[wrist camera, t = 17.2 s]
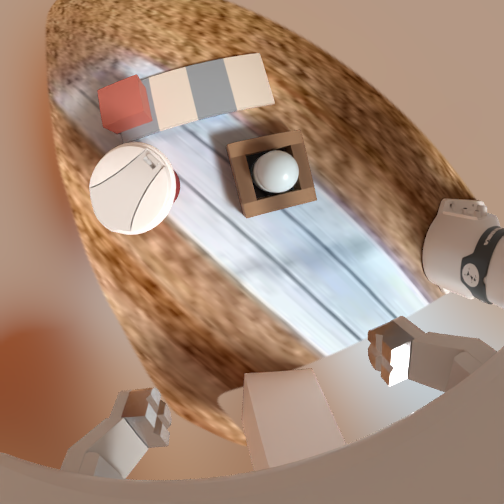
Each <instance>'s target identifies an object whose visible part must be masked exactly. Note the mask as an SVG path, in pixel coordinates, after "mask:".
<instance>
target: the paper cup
mask: <svg viewBox="0 0 504 504" xmlns="http://www.w3.org/2000/svg"><path fill="white" fill-rule="evenodd" d="M89 188H90V197H91V202H92V207H93V210H94V213H95V215H96V217H97V219H98V220H99V221H100V222H101V224H103V225H104V226H105V227H106V228H107V229H109V230H110V231H112V232H117V233H122V234H129V235H133V234H140V233H144V232H146V231H149V230H151V229H152V228H154V227H155V226H157V225H158V224H159V223H160V222H161V221H162V220H163V219H164V218H165V217H166V215H167V214H168V212H169V211H170V209H171V207H172V204H173V203H174V202H175V200H176V199H177V197H178V194H179V191H180V181H179V178H178V176H177V174H176V172H175V171H174V170H173V168H172V166H171V164H170V162H169V160H168V159H167V158H166V156H165V155H164V154H163V153H162V152H161V151H159V150H158V149H157V148H155V147H153V146H151V145H149V144H146V143H141V142H130V143H124V144H122V145H119V146H117V147H115V148H113V149H112V150H110V151H109V152H108V153H106V154H105V155H104V156H103V157H102V159H101V160H100V161H99V163H98V164H97V165H96V167H95V169H94V171H93V173H92V176H91V180H90V185H89Z"/></svg>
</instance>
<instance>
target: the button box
mask: <svg viewBox="0 0 504 504" xmlns="http://www.w3.org/2000/svg"><path fill="white" fill-rule="evenodd" d="M282 148H284V149H285V152H286V153H288V154H290V155H291V156H292V157H293V158H294V159H295V161H296V162H297V165H298V168H299V175H298V179H297V181H296V183H295V185H294V189H293V190H289V191H285V192H280V193H276V194H272V195H268V196H264V197H260V198H256V195H255V191H254V187H253V183H252V179H251V175H250V171H249V167H248V163H247V159H246V156H250V155H254V154H258V153H263V152H268V151H272V150H277V149H282ZM226 150H227V153H228V157H229V161H230V165H231V169H232V173H233V177H234V180H235V184H236V188H237V192H238V196H239V200H240V204H241V208H242V211H243V215H244V216H245V217H246V218H250V217H253V216H257V215H261V214H265V213H268V212H272V211H276V210H280V209H284V208H288V207H292V206H296V205H299V204H303V203H307V202H312V201H316V200H317V198H316V193H315V188H314V184H313V179H312V175H311V170H310V166H309V162H308V158H307V154H306V150H305V146H304V142H303V138H302V134H301V130H294V131H288V132H283V133H277V134H272V135H267V136H262V137H257V138H253V139H248V140H243V141H239V142H235V143H231V144H227V147H226Z"/></svg>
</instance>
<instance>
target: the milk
mask: <svg viewBox="0 0 504 504" xmlns="http://www.w3.org/2000/svg"><path fill="white" fill-rule="evenodd" d="M242 423H243V428H244V432H245V436H246V441H247V445H248V449H249V453H250V457H251V461H252V465H253V469H254V471H258V470H262V469H267V468H272V467H276V466H280V465H284V464H288V463H291V462H295V461H299V460H302V459H305V458H309V457H312V456H315V455H318V454H321V453H324V452H327V451H330V450H333V449H335V448H338V447H341V446H343V445H346V443H345V440H344V438H343V436H342V434H341V431H340V429H339V427H338V425H337V422H336V420H335V418H334V416H333V414H332V411H331V409H330V407H329V405H328V403H327V400H326V398H325V396H324V394H323V391H322V389H321V387H320V385H319V382H318V380H317V378H316V376H315V374H314V371H313V369H312V368H310V369H300V370H289V371H276V372H260V373H245V375H244V392H243V407H242Z"/></svg>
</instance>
